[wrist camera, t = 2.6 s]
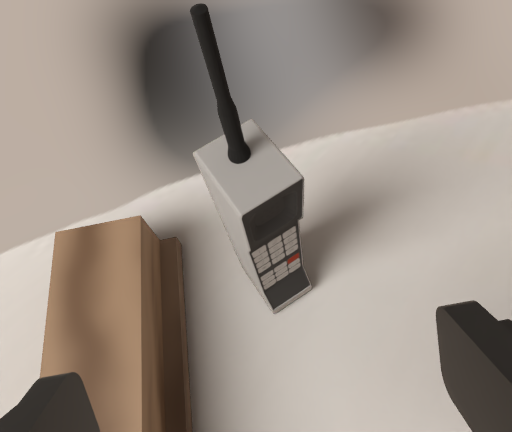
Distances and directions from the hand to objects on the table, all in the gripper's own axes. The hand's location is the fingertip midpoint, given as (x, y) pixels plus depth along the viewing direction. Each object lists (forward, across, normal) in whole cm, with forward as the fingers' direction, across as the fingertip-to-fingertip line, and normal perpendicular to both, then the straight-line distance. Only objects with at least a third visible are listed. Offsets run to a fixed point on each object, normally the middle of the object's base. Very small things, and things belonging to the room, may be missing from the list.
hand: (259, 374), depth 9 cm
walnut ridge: (+21, +13, +13) cm, 28 cm away
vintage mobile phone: (+25, 0, +9) cm, 27 cm away
